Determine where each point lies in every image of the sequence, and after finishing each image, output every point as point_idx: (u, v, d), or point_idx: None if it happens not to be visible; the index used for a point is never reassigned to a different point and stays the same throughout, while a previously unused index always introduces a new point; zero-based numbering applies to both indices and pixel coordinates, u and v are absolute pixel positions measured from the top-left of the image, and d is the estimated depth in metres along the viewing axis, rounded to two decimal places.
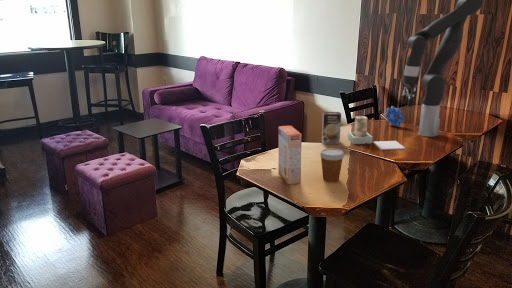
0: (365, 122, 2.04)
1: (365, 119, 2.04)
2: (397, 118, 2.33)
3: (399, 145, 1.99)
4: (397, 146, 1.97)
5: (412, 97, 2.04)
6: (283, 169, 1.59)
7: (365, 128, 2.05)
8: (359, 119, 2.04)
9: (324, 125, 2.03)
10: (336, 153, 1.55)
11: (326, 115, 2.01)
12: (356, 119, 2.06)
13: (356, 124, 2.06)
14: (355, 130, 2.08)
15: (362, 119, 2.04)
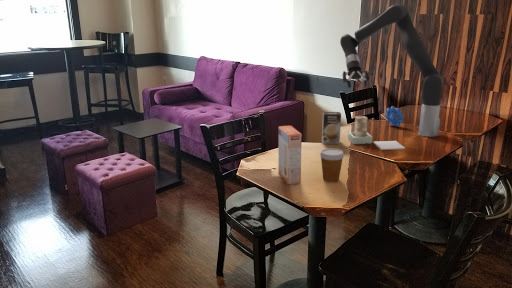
0: (365, 122, 2.04)
1: (365, 119, 2.04)
2: (397, 118, 2.33)
3: (399, 145, 1.99)
4: (397, 146, 1.97)
5: (343, 80, 2.19)
6: (283, 169, 1.59)
7: (365, 128, 2.05)
8: (359, 119, 2.04)
9: (324, 125, 2.03)
10: (336, 153, 1.55)
11: (326, 115, 2.01)
12: (356, 119, 2.06)
13: (356, 124, 2.06)
14: (355, 130, 2.08)
15: (362, 119, 2.04)
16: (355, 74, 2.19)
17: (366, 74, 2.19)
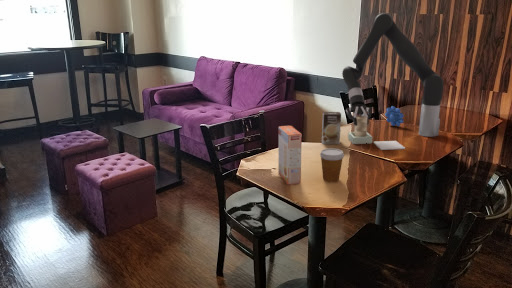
0: (365, 122, 2.04)
1: (365, 119, 2.04)
2: (397, 118, 2.33)
3: (399, 145, 1.99)
4: (397, 146, 1.97)
5: (349, 117, 2.08)
6: (283, 169, 1.59)
7: (365, 128, 2.05)
8: (359, 119, 2.04)
9: (324, 125, 2.03)
10: (336, 153, 1.55)
11: (326, 115, 2.01)
12: None
13: None
14: (355, 130, 2.08)
15: (362, 119, 2.04)
16: (358, 109, 2.09)
17: (369, 110, 2.08)
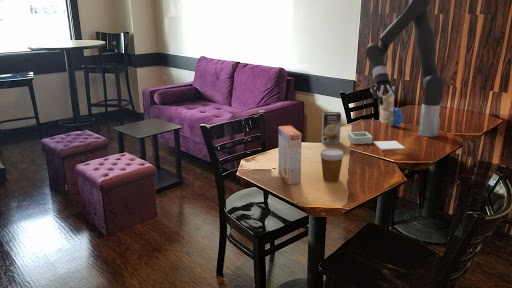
0: (392, 101, 1.93)
1: (392, 98, 1.93)
2: (397, 118, 2.33)
3: (399, 145, 1.99)
4: (397, 146, 1.97)
5: (374, 96, 1.97)
6: (283, 169, 1.59)
7: (392, 107, 1.94)
8: (385, 98, 1.92)
9: (324, 125, 2.03)
10: (336, 153, 1.55)
11: (326, 115, 2.01)
12: (382, 98, 1.95)
13: None
14: (381, 110, 1.97)
15: (388, 98, 1.92)
16: (384, 88, 1.98)
17: (395, 89, 1.97)
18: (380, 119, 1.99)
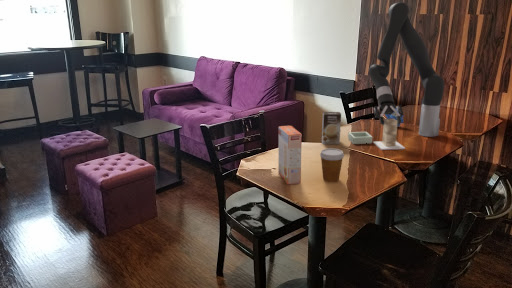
0: (395, 125, 1.95)
1: (395, 122, 1.94)
2: None
3: (399, 145, 1.99)
4: (397, 146, 1.97)
5: (375, 116, 1.99)
6: (283, 169, 1.59)
7: (395, 131, 1.96)
8: (389, 122, 1.94)
9: (324, 125, 2.03)
10: (336, 153, 1.55)
11: (326, 115, 2.01)
12: (385, 122, 1.97)
13: (385, 127, 1.97)
14: (384, 133, 1.99)
15: (392, 122, 1.94)
16: (388, 109, 1.99)
17: (400, 109, 1.99)
18: (383, 142, 2.01)
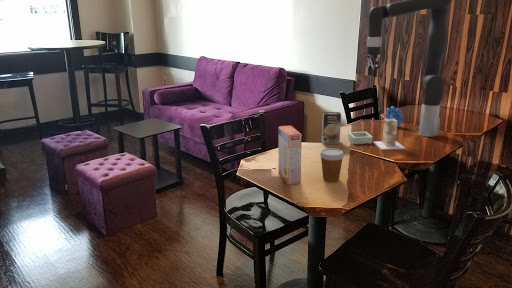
0: (395, 125, 1.95)
1: (395, 122, 1.94)
2: (397, 118, 2.33)
3: (399, 145, 1.99)
4: (397, 146, 1.97)
5: (375, 67, 2.08)
6: (283, 169, 1.59)
7: (395, 131, 1.96)
8: (389, 122, 1.94)
9: (324, 125, 2.03)
10: (336, 153, 1.55)
11: (326, 115, 2.01)
12: (385, 122, 1.97)
13: (385, 127, 1.97)
14: (384, 133, 1.99)
15: (392, 122, 1.94)
16: None
17: None
18: (383, 142, 2.01)
